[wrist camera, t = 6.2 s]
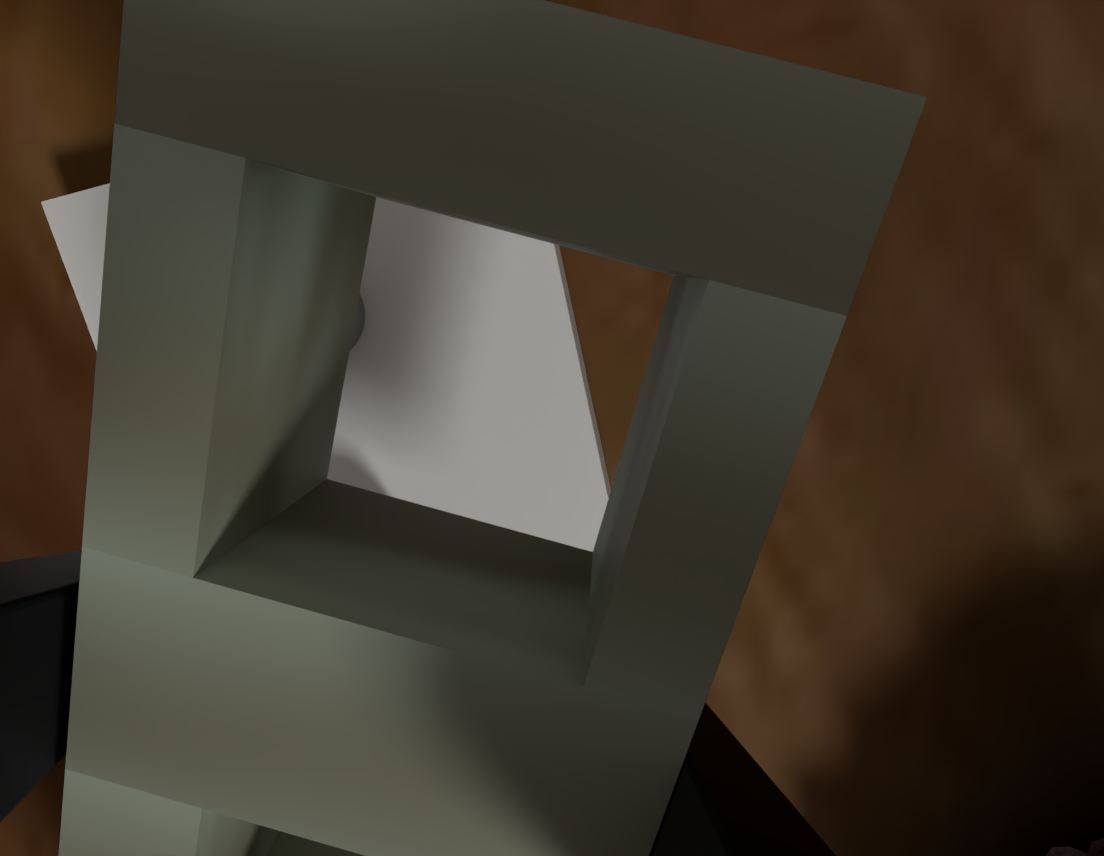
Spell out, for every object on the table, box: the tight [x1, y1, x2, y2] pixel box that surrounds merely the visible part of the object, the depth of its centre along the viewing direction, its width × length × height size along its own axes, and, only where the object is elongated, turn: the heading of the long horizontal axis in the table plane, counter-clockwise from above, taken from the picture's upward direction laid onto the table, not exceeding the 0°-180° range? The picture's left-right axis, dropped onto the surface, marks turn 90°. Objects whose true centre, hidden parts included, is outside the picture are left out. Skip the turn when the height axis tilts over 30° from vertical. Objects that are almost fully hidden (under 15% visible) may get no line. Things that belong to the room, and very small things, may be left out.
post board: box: [41, 183, 611, 552], centre depth 16 cm, size 14×12×5 cm
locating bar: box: [59, 0, 927, 856], centre depth 8 cm, size 12×6×3 cm, turn 166°
